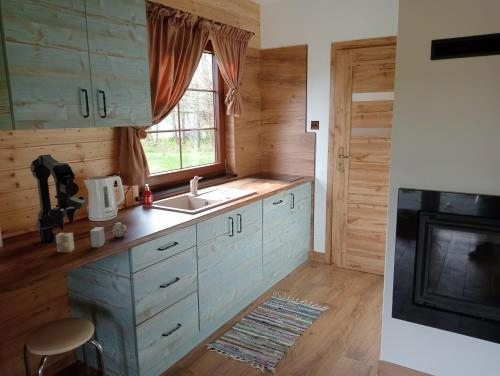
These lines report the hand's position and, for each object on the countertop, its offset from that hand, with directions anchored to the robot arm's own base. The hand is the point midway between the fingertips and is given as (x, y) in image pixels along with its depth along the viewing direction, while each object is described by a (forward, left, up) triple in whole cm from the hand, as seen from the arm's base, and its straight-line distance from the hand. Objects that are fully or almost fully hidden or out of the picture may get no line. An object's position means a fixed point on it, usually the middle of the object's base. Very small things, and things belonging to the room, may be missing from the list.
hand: (67, 226), depth 184 cm
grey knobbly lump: (+14, +24, -13) cm, 31 cm away
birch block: (-4, +4, -13) cm, 14 cm away
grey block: (+8, +12, -13) cm, 19 cm away
